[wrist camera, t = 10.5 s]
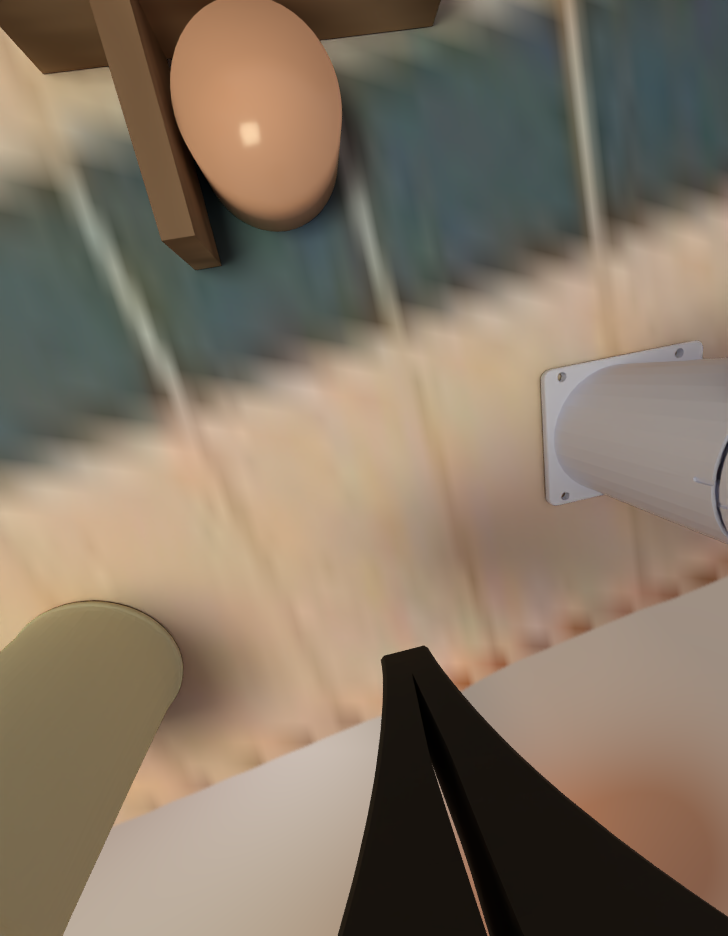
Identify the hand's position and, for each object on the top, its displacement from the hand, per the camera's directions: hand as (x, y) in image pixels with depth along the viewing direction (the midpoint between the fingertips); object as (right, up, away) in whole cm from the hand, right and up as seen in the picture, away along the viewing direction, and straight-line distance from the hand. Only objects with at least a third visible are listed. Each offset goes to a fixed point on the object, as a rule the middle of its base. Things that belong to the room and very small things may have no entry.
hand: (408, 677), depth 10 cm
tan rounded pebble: (-5, +20, +5) cm, 21 cm away
